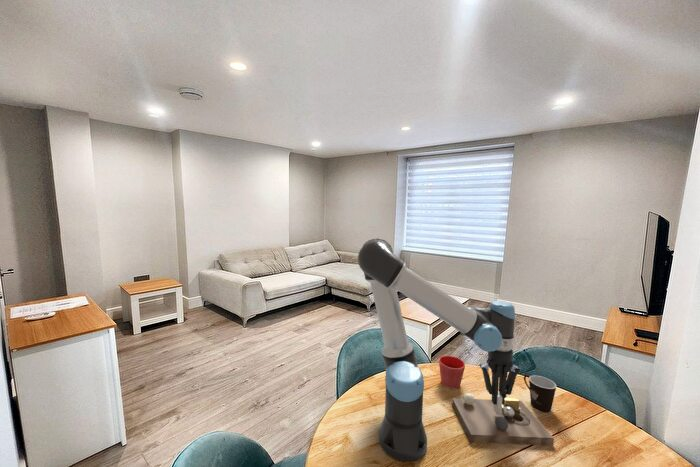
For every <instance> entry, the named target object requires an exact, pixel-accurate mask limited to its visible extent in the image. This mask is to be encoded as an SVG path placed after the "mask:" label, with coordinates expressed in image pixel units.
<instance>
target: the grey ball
mask: <svg viewBox="0 0 700 467" xmlns="http://www.w3.org/2000/svg"><path fill="white" fill-rule="evenodd" d="M495 424H496V426H497V428H499V429H500V430H506V429H507V428H508V422H507V420H506V419H505V418H503V417H497V418H496V420H495Z"/></svg>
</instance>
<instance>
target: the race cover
mask: <svg viewBox="0 0 700 467" xmlns="http://www.w3.org/2000/svg"><path fill="white" fill-rule="evenodd" d="M519 401H520V399H518V398H513V397H512V398H511V397H506V398H505V401H504V402H505V403H504V405H502V409H503V410H504V408H505V407H507V406H509V407H511V408H512V409H513V410H514V411H520V408H519Z"/></svg>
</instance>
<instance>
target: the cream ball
mask: <svg viewBox="0 0 700 467" xmlns="http://www.w3.org/2000/svg"><path fill="white" fill-rule="evenodd" d="M463 399H464V402H465V403H466V404H468V405H472V404H473V403H474V401H475V400H474V399H475V396H473V394H471V393H469V392H467V393H465V394H464V395H463Z"/></svg>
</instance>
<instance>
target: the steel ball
mask: <svg viewBox="0 0 700 467" xmlns="http://www.w3.org/2000/svg"><path fill="white" fill-rule="evenodd" d="M504 414H505V415H506V416H507V417H509V418H512V417H514V415H515V412H514V410H513V409H512V408H511V407H509V406H507V407H505V408H504Z"/></svg>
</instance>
